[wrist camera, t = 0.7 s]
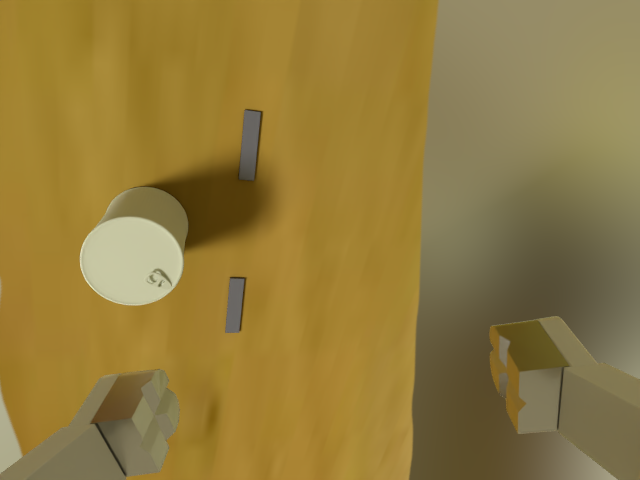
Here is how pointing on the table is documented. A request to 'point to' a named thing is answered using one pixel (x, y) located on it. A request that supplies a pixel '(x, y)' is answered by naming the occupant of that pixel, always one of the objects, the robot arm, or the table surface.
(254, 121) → the strip
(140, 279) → the can
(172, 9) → the table surface
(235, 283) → the line strip
